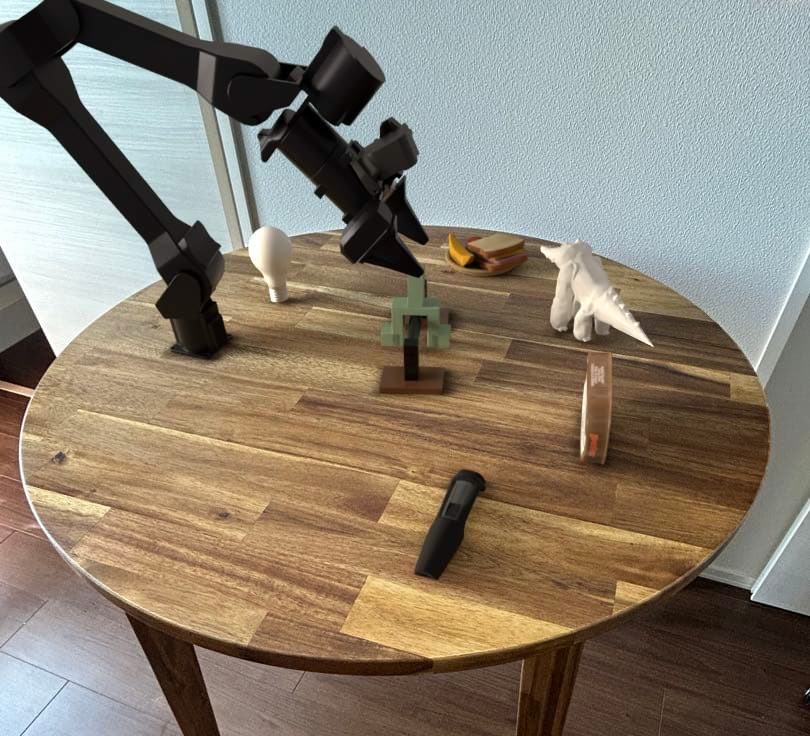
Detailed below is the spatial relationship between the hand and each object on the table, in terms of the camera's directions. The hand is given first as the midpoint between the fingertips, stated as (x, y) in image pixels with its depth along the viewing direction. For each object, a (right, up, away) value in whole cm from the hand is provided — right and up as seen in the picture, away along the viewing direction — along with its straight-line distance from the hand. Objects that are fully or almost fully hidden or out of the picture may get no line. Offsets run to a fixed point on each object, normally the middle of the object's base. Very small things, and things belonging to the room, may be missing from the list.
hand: (424, 258), depth 80 cm
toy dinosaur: (+23, -7, +10) cm, 26 cm away
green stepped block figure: (-1, -8, +8) cm, 11 cm away
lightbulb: (-22, +2, +20) cm, 30 cm away
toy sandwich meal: (+11, +11, +27) cm, 31 cm away
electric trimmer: (+2, -34, -14) cm, 37 cm away
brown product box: (+19, -23, -5) cm, 30 cm away
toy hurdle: (-1, -9, +9) cm, 13 cm away
